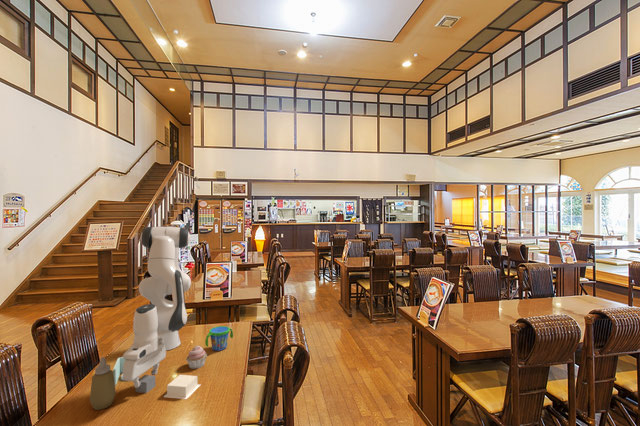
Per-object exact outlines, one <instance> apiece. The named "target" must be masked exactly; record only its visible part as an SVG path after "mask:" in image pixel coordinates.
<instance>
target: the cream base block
mask: <svg viewBox="0 0 640 426" xmlns="http://www.w3.org/2000/svg"><path fill="white" fill-rule="evenodd" d="M197 384H198V375H190V374H189V375H188V374H179V375H178V376H176V377H175V378H174V379H173V380H172V381H171V382H169V383H168V384H167V385H166V394H167V396H177V397H187V396H188V395H189V394H190V393H191V392H192V391H193V390H194V389H195V388H196V387H197Z"/></svg>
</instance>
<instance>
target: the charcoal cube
mask: <svg viewBox="0 0 640 426" xmlns="http://www.w3.org/2000/svg"><path fill="white" fill-rule="evenodd" d="M138 380H139V381H141V385H140V386H139V387H138V388H136V387H135V393H140V394H141V393H142V394H147V393H149V392H150V391H151V390H152V389H154V388H155V387H156V375H152V374H151V375H149V374H144V375H141V377H139V379H138Z"/></svg>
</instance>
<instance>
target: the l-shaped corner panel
mask: <svg viewBox="0 0 640 426" xmlns="http://www.w3.org/2000/svg"><path fill="white" fill-rule="evenodd" d="M125 360H126V359H123V356H121V357H120V356H119V357H118V358H117V360H116V362H115V364H114V367H113V369H112V371H113V375H114V383H115V387H116V386H117V383H118V381H119V377H120V380H121V381H123V382H125V381H126V380H124V379H123V363H124V361H125ZM120 374H121V376H120ZM126 382H127V381H126Z"/></svg>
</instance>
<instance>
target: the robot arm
mask: <svg viewBox="0 0 640 426" xmlns="http://www.w3.org/2000/svg"><path fill="white" fill-rule="evenodd" d="M190 240H191V234H190V232H189V230H188V228H185V227H181V226H180V227H179V226H177V227H176V226H147V227H144V228H143V229H142V232H141V233H140V242H141V245H142V246H143V247H144V248H147V249H148V250H149V253H148V258H147V259H148V260H147V271H148V274H149V275H150V277H146V278H143V279H142V280H141V281H140V282H139V284H138V291H139V292H138V293H139V294H140V296H141V297H143V298H145V299H147V300H148V301H149V302H150V303H148V304H143V305H140V306H139V307H137V308H136V309H135V312H134V315H133V323H132V325H133V326H132V330H133V331H132V332H133V334H134V335H133V336H134V337H133V341H132V343H133V344H131V345H130V346H129V348H127V350H126V351H125V352H124V353H123V354H122V357H123V359H126V360H125V361H124V363H123V373H122V374H123V379H124V380H126V382H133V384H134V388H135V389H136V388H138V387H139V386H140V385H141V381H139V380H138V379H140V376H142V375H143V374H144V373H145V372H146V373H147V371H148V370H150V369H151V368H152V370H151V371H150V372H151V373H150V374H151V376H156V375H157V374H158V369H159V366H160V362H162V361H163V360H164V359H166V356H167V351H170V350H173V349H176V348H178V347H179V346H180V345H181V340H180V334H179V331H180V330H182V328H183V327H185V326H186V324H187V322H188V313H187V308H186V301H185V293H186V292H187V291H189V289H190V288H191V285H192V279H191V277H190V276H189V275H188V273H185V272H183V270H182V269H181V268H180V264H179V253H180V252H179V251H180V249H183V248H186V247H187V246H188V245H189V243H190V242H191V241H190ZM169 295H172V300H169V299H167V298H165V297H166V296H169ZM124 380H123V381H124Z"/></svg>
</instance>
